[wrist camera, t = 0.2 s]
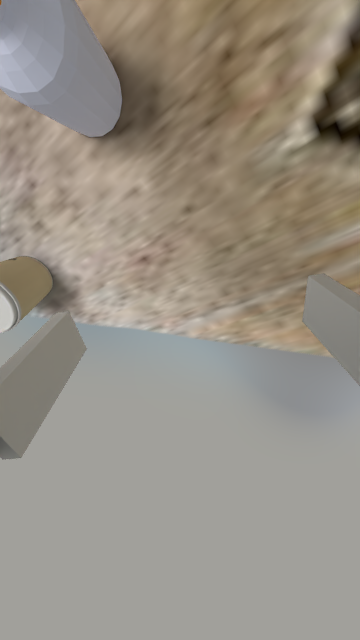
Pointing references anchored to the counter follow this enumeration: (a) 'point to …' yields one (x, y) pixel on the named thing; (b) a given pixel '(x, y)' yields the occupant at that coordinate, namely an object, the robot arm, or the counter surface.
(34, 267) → the white-capped cylinder
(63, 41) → the soap bottle
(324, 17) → the counter surface
